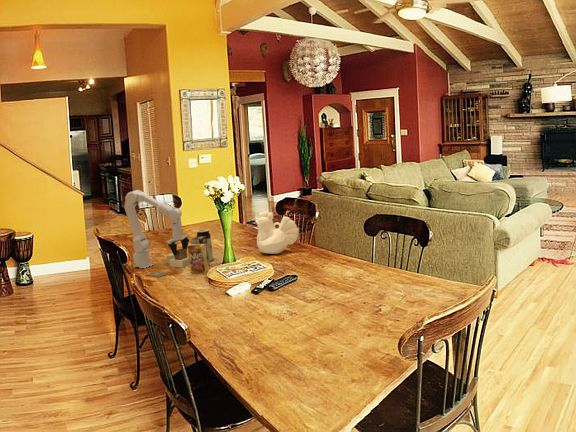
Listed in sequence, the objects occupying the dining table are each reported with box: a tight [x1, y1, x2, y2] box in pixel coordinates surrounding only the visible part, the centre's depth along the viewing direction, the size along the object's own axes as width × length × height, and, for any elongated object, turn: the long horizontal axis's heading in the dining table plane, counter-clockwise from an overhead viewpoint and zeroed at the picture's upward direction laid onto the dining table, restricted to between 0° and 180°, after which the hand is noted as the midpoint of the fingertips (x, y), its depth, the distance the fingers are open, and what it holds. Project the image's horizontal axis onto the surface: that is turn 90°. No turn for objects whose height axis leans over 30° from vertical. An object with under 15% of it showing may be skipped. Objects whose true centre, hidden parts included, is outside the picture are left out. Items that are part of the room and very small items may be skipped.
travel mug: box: [195, 228, 214, 262], centre depth 313 cm, size 8×8×18 cm
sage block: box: [165, 252, 175, 265], centre depth 316 cm, size 5×5×5 cm
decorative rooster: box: [254, 210, 300, 255], centre depth 314 cm, size 25×16×25 cm, turn 67°
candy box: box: [187, 243, 209, 274], centre depth 289 cm, size 9×4×15 cm, turn 73°
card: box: [145, 271, 169, 278], centre depth 292 cm, size 10×7×1 cm
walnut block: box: [174, 248, 188, 260], centre depth 308 cm, size 5×5×5 cm
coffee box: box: [190, 236, 210, 265], centre depth 301 cm, size 9×6×16 cm
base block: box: [169, 256, 190, 268], centre depth 309 cm, size 9×9×4 cm
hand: (180, 253), depth 308 cm, fingers open, 7 cm apart
